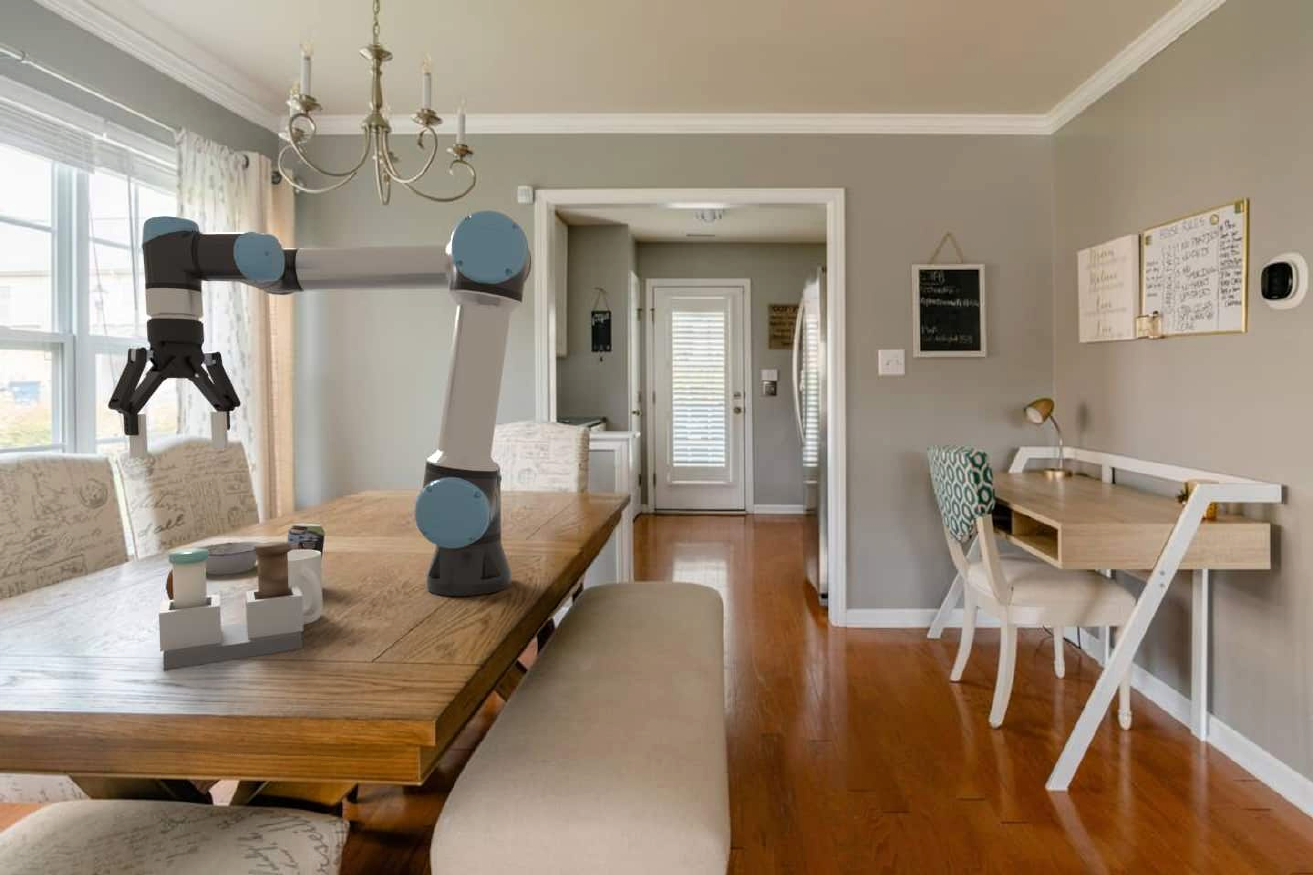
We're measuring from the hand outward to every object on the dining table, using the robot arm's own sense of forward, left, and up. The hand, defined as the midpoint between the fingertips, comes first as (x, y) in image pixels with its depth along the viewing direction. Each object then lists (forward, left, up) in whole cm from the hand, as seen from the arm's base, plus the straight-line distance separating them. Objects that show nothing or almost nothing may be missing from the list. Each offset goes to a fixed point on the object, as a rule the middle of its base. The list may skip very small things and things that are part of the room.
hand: (181, 454), depth 118 cm
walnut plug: (-21, +13, -20) cm, 32 cm away
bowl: (+11, -30, -26) cm, 42 cm away
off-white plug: (-12, +18, -20) cm, 30 cm away
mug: (-20, +4, -26) cm, 33 cm away
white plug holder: (-17, +16, -26) cm, 35 cm away
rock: (+3, -5, -26) cm, 27 cm away
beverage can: (-11, -16, -26) cm, 33 cm away
